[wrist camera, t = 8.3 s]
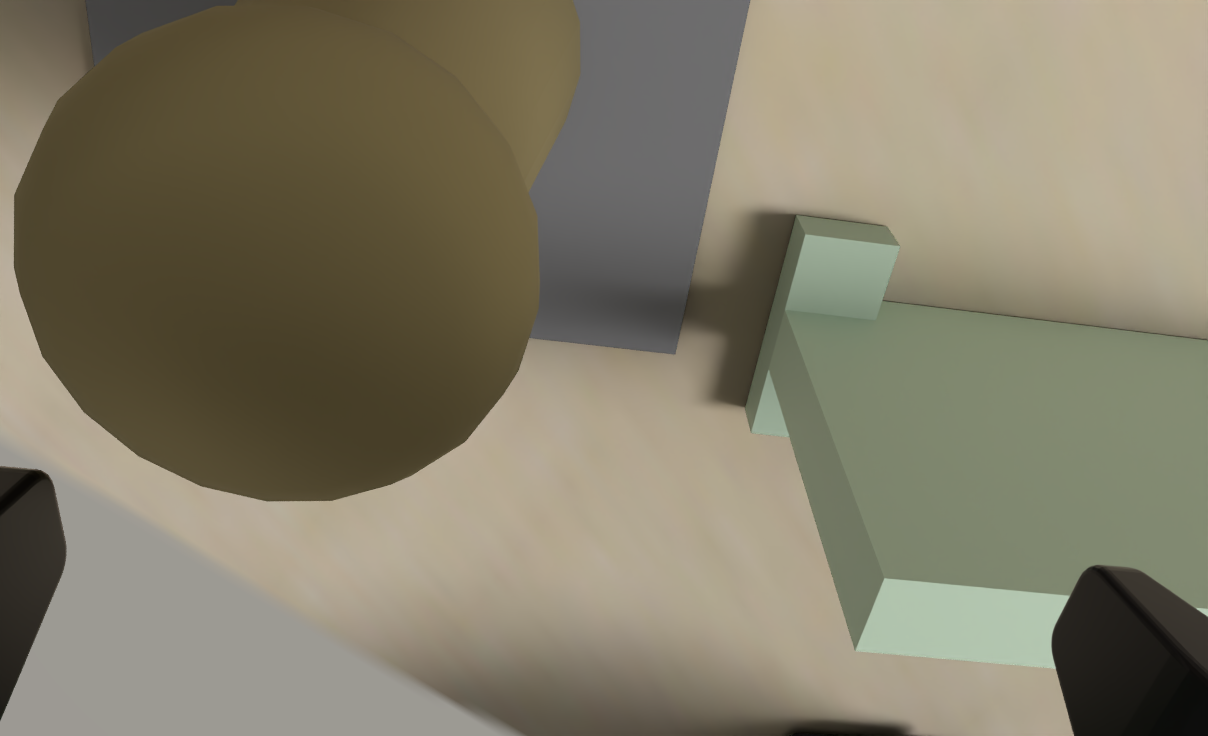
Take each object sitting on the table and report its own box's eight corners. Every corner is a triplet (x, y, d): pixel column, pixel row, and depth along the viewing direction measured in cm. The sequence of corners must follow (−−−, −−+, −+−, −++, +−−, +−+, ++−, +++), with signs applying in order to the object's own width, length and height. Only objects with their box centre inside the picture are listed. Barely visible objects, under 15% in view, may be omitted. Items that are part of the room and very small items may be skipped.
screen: (1287, 468, 24) (1611, 789, 17) (745, 408, 23) (824, 726, 15) (1401, 292, 22) (1847, 578, 14) (796, 214, 20) (923, 482, 13)
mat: (673, 345, 22) (675, 354, 22) (131, 283, 21) (124, 291, 21) (804, -280, 16) (809, -281, 15) (42, -414, 15) (29, -419, 14)
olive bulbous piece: (191, 49, 18) (-231, 352, 9) (395, -219, 16) (125, -196, 6) (440, 256, 20) (320, 671, 11) (648, 48, 18) (716, 346, 9)
